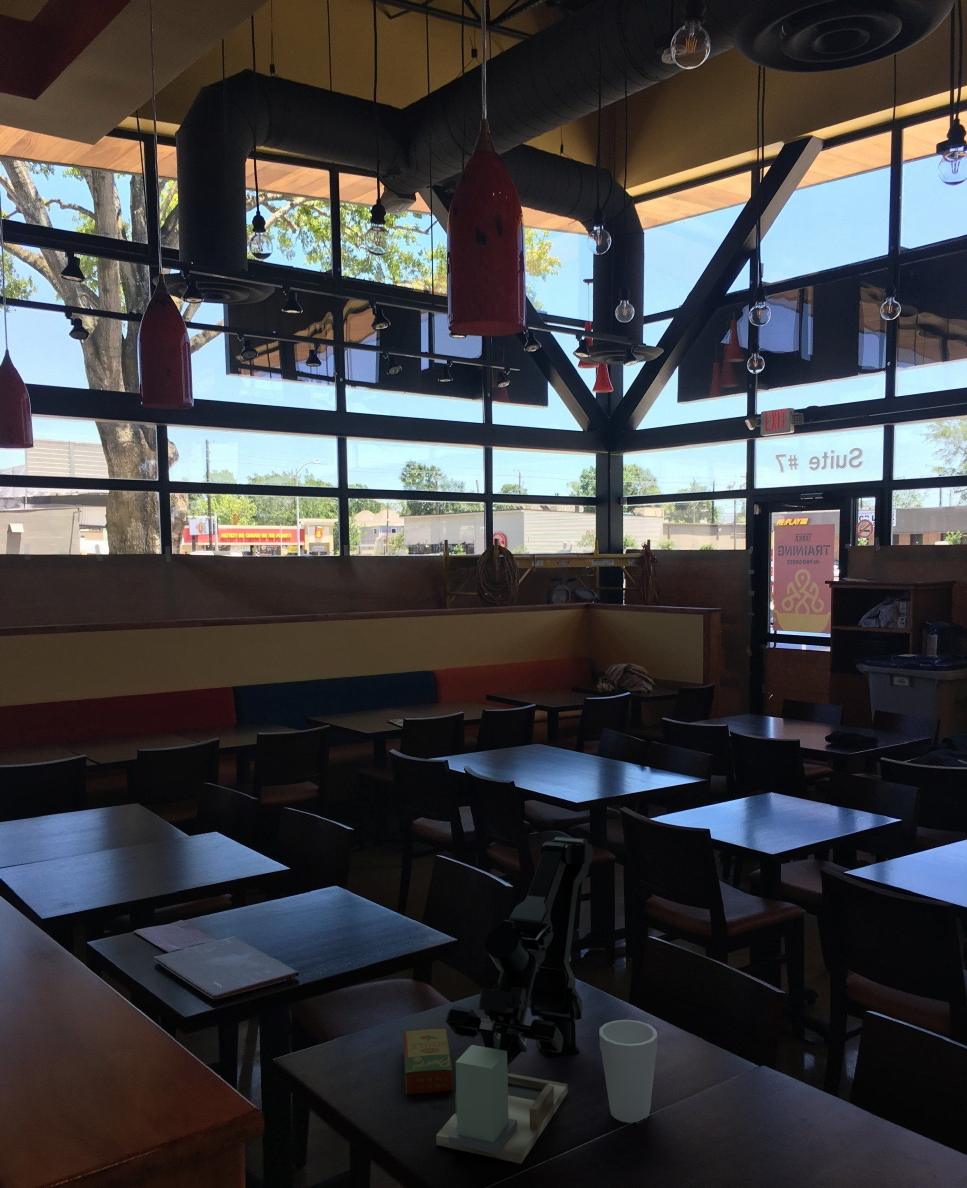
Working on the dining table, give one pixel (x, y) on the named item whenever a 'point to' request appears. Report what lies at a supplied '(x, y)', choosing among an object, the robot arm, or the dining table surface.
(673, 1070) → the dining table surface
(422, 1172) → the dining table surface
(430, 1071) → the carton
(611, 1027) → the foam cup
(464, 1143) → the tall sage green block
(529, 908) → the robot arm
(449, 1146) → the track
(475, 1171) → the dining table surface
